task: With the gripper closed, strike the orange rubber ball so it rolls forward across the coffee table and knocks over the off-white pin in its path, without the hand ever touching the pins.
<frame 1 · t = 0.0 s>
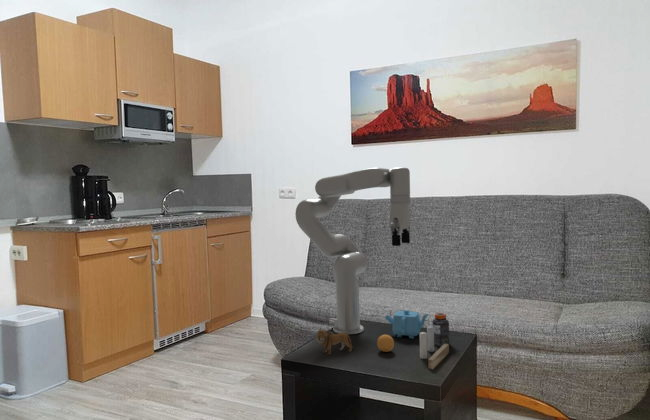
hand: (401, 244, 183), 37 cm above the table, tool pointing down, fingers open, 9 cm apart
ball: (385, 343, 170), on the table
pill bottle: (441, 344, 177), on the table
lion figurine: (334, 353, 170), on the table
tan wooden bar: (439, 360, 160), on the table
white pin: (423, 357, 163), on the table
grey pin: (430, 350, 169), on the table
teapot: (407, 335, 189), on the table
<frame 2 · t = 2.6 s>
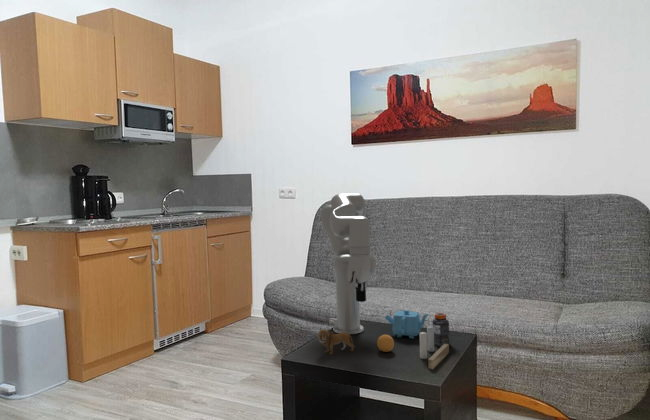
hand: (361, 301, 173), 17 cm above the table, tool pointing down, fingers closed
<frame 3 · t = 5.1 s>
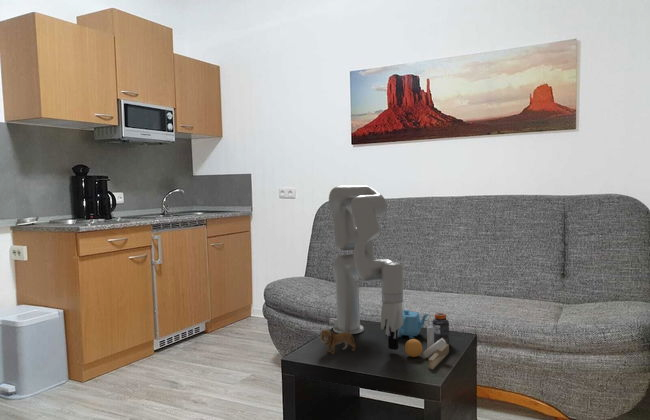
hand: (393, 348, 168), 2 cm above the table, tool pointing down, fingers closed
ball: (413, 347, 164), on the table
white pin: (425, 355, 162), point 1 cm above the table, tilted 49°, touching tan wooden bar
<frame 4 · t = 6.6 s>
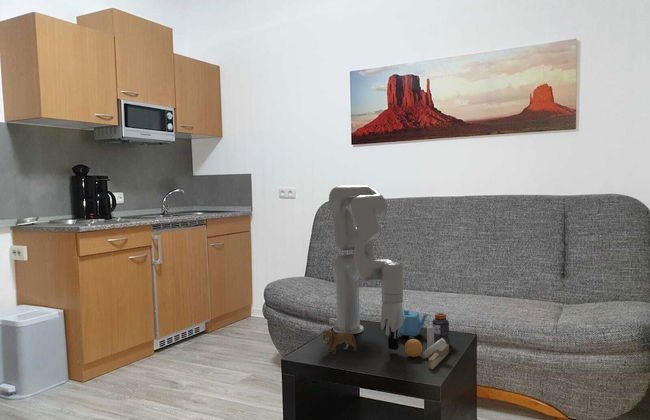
hand: (393, 348, 168), 2 cm above the table, tool pointing down, fingers closed
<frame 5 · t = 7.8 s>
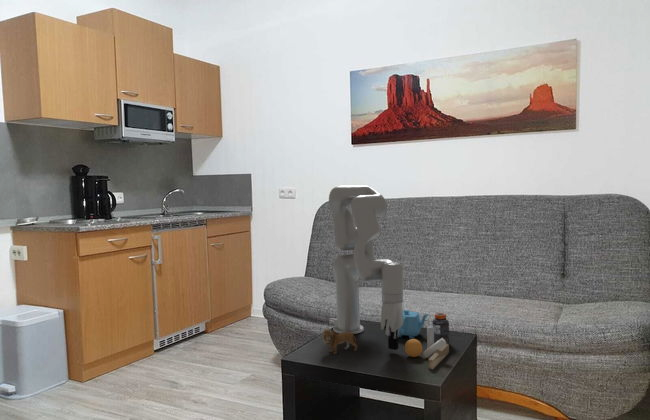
hand: (393, 348, 168), 2 cm above the table, tool pointing down, fingers closed
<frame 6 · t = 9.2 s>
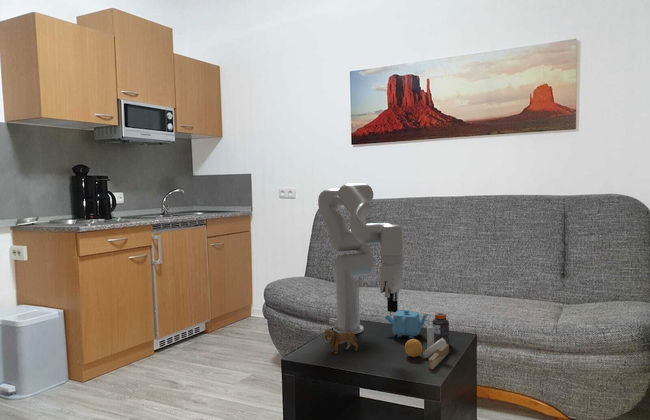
hand: (392, 311, 168), 15 cm above the table, tool pointing down, fingers closed
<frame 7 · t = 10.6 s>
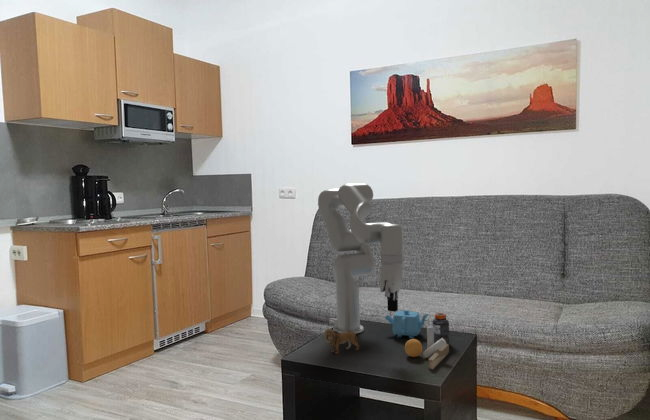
hand: (392, 310, 168), 15 cm above the table, tool pointing down, fingers closed
at the end: white pin tilted 49°; white pin never touched the robot; ball moved 10.6 cm from its start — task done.
